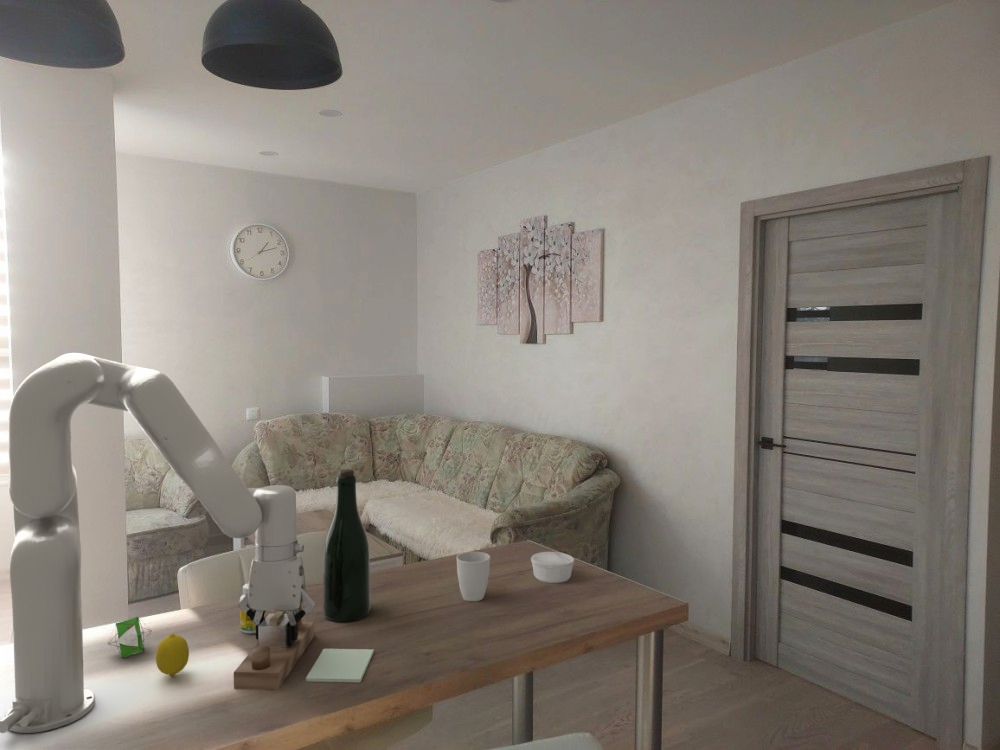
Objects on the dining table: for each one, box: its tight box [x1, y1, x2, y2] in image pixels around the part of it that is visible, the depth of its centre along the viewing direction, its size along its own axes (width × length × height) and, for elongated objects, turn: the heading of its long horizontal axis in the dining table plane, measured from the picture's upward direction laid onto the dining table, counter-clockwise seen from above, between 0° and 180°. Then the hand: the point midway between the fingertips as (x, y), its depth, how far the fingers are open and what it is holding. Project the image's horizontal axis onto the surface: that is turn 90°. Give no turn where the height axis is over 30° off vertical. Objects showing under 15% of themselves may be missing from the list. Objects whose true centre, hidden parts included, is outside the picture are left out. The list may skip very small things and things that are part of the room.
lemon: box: [155, 633, 190, 678], centre depth 128 cm, size 6×6×8 cm
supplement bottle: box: [239, 582, 267, 635], centre depth 148 cm, size 5×5×10 cm
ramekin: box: [530, 551, 575, 584], centre depth 182 cm, size 11×11×5 cm
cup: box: [456, 551, 491, 602], centre depth 167 cm, size 8×8×10 cm
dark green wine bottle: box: [322, 468, 371, 622], centre depth 156 cm, size 10×10×33 cm
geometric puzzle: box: [107, 616, 152, 659], centre depth 137 cm, size 7×7×8 cm
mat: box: [305, 648, 375, 683], centre depth 132 cm, size 12×10×1 cm
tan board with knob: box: [233, 603, 315, 690], centre depth 134 cm, size 22×8×9 cm, turn 179°
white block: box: [258, 611, 289, 652], centre depth 134 cm, size 6×5×6 cm
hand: (277, 641), depth 134 cm, fingers closed on white block, 5 cm apart
